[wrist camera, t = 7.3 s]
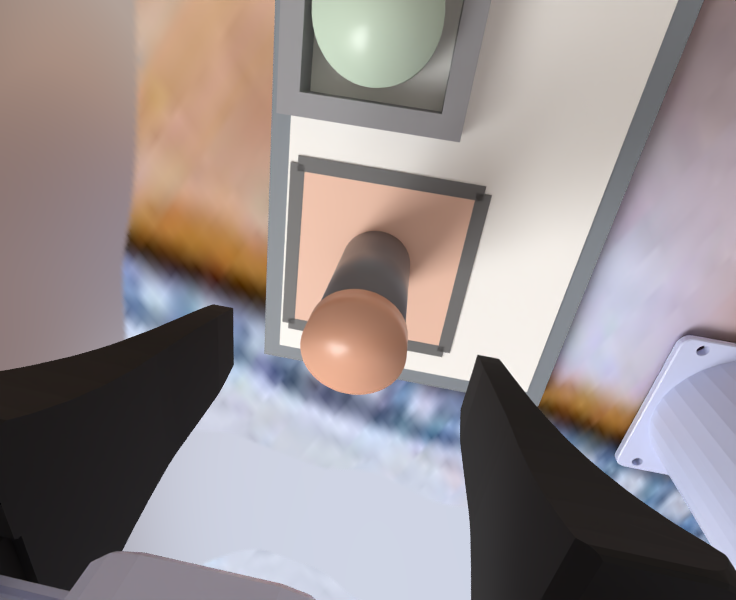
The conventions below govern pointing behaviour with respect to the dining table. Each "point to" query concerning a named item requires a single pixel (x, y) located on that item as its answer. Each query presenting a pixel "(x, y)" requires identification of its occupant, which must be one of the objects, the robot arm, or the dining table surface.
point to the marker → (361, 318)
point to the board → (468, 172)
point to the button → (378, 37)
